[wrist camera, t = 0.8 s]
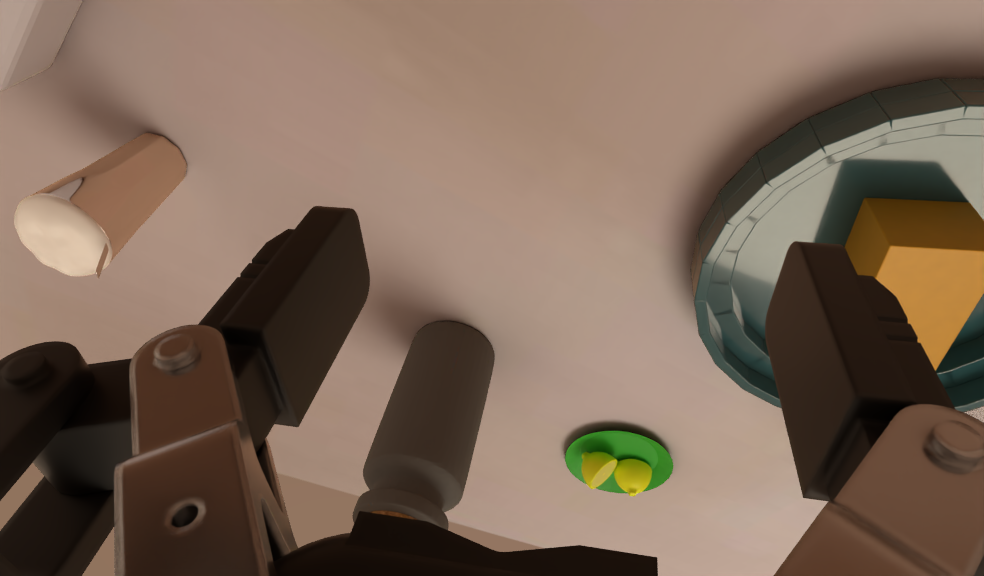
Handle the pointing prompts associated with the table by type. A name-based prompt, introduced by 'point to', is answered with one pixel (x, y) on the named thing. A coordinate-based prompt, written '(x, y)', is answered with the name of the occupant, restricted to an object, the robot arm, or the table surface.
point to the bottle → (429, 426)
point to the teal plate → (837, 215)
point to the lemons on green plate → (619, 462)
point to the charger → (32, 36)
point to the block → (923, 262)
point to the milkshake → (99, 206)
